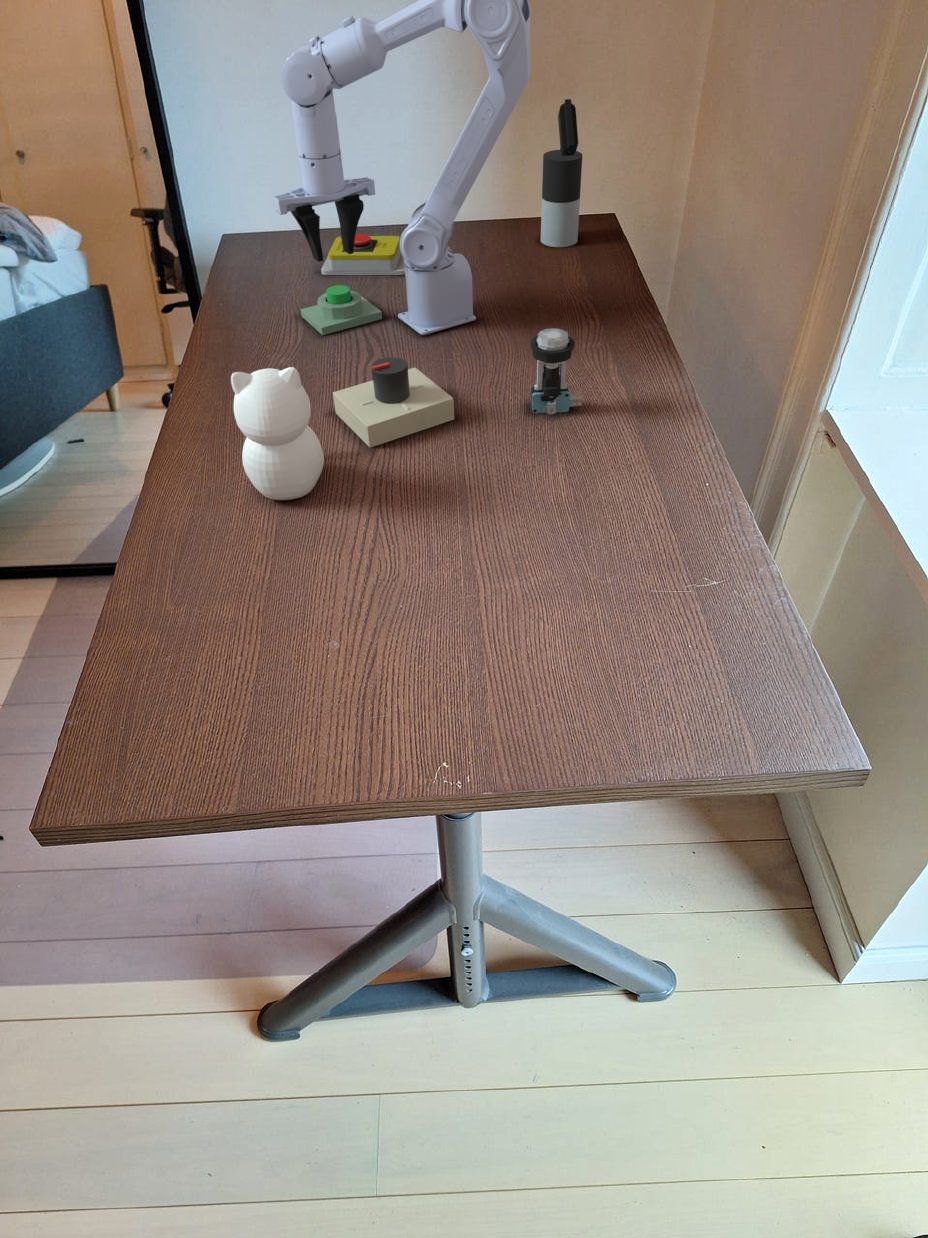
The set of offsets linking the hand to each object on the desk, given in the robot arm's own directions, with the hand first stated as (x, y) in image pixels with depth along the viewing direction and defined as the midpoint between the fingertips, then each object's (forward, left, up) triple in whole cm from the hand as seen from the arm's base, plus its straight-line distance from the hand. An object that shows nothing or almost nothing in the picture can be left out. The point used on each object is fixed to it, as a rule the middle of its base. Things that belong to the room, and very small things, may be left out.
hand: (333, 255), depth 124 cm
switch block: (0, 0, -9) cm, 9 cm away
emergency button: (-13, -17, -10) cm, 23 cm away
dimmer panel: (+7, +31, -9) cm, 33 cm away
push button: (-11, +41, -10) cm, 44 cm away
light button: (0, 0, -7) cm, 7 cm away
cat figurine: (+24, +37, -10) cm, 45 cm away
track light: (-45, -5, -10) cm, 46 cm away
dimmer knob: (+7, +31, -6) cm, 32 cm away
